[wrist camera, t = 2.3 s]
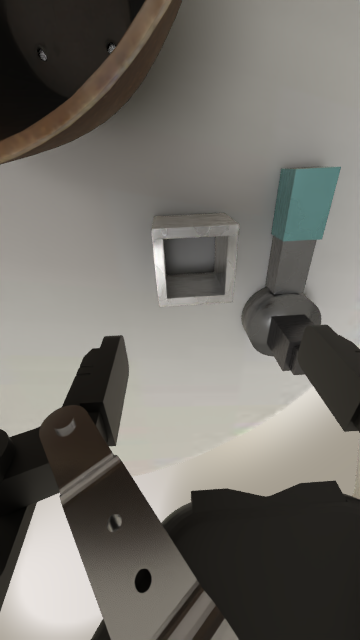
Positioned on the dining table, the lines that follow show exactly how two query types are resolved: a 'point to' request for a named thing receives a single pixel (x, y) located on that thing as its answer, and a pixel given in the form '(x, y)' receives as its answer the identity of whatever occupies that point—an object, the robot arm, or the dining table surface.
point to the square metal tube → (196, 284)
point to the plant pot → (72, 66)
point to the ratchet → (291, 265)
